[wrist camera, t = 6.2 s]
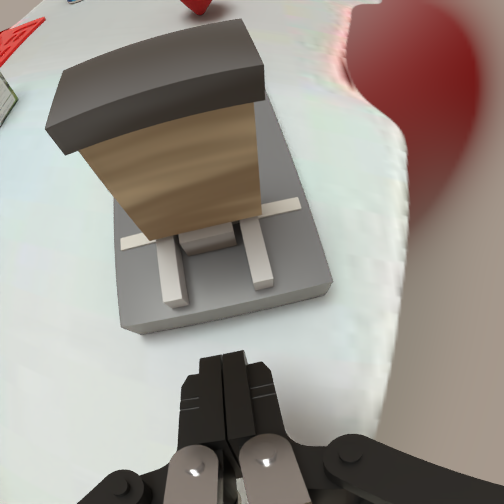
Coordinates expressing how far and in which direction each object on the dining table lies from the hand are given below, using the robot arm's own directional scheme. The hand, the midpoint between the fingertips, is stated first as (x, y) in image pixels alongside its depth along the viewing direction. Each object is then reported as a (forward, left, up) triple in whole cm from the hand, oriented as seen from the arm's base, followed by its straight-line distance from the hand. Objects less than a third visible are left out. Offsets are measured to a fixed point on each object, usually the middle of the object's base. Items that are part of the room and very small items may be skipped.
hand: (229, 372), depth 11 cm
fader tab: (+5, +7, -5) cm, 10 cm away
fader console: (+10, +13, -8) cm, 19 cm away
